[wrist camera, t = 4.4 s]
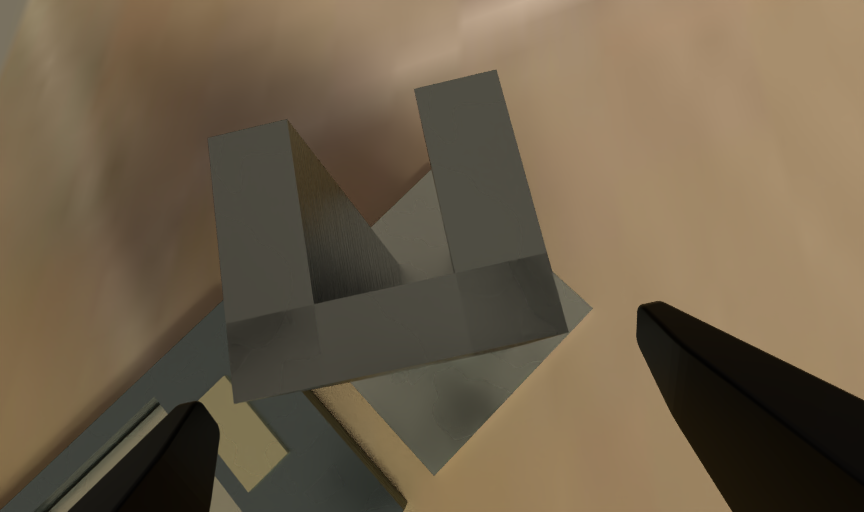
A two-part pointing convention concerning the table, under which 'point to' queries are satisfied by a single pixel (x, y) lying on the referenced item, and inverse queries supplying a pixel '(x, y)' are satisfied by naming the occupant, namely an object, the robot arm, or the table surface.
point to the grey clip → (376, 255)
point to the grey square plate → (457, 380)
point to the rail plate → (224, 441)
